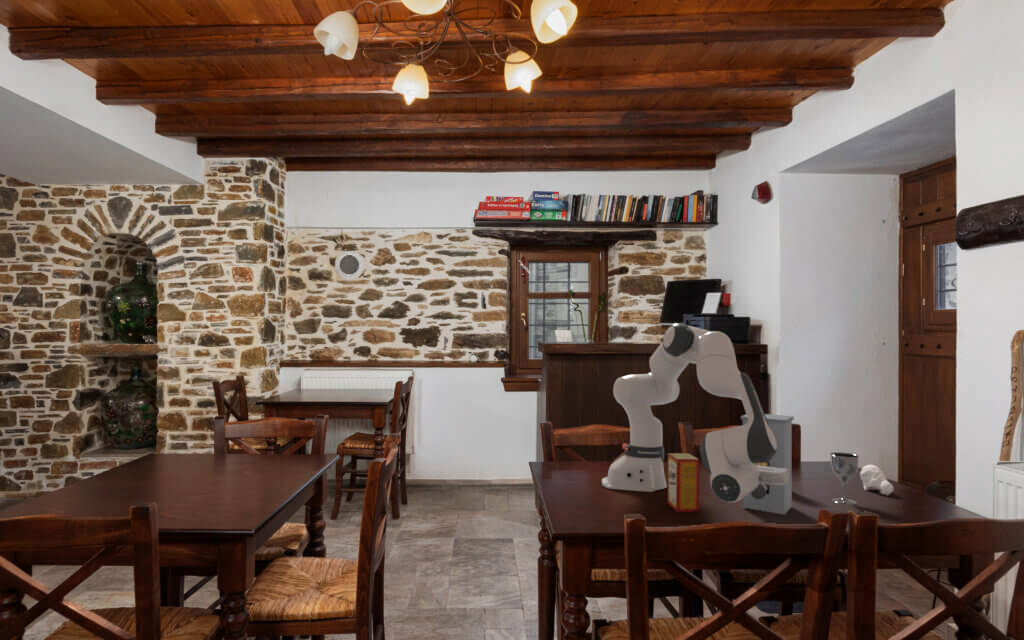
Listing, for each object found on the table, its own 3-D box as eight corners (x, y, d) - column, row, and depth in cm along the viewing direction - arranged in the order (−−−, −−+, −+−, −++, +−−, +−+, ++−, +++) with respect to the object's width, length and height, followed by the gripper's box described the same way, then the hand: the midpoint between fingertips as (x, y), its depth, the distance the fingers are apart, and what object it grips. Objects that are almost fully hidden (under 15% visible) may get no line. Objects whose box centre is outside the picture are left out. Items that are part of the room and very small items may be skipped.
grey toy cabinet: (785, 515, 183) (785, 420, 184) (740, 507, 191) (740, 416, 191) (793, 507, 192) (793, 416, 193) (750, 500, 200) (750, 412, 200)
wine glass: (825, 498, 203) (825, 452, 203) (850, 498, 203) (850, 452, 203) (837, 504, 195) (837, 457, 195) (863, 505, 195) (863, 457, 195)
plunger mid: (766, 473, 183) (766, 459, 183) (752, 471, 185) (752, 457, 185) (774, 467, 190) (774, 454, 191) (760, 465, 193) (760, 452, 193)
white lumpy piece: (875, 462, 217) (901, 474, 205) (873, 486, 218) (899, 499, 206) (858, 463, 216) (883, 474, 205) (857, 487, 217) (881, 499, 205)
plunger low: (764, 500, 181) (764, 486, 181) (750, 498, 183) (750, 484, 183) (772, 493, 189) (772, 480, 189) (758, 491, 191) (758, 478, 191)
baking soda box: (667, 503, 195) (667, 452, 196) (688, 502, 196) (688, 452, 196) (677, 511, 186) (677, 458, 186) (698, 511, 186) (698, 458, 186)
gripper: (783, 469, 161) (794, 460, 172) (704, 460, 172) (719, 453, 184) (783, 494, 161) (794, 483, 172) (704, 483, 172) (719, 474, 184)
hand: (755, 467), depth 178 cm, fingers closed
